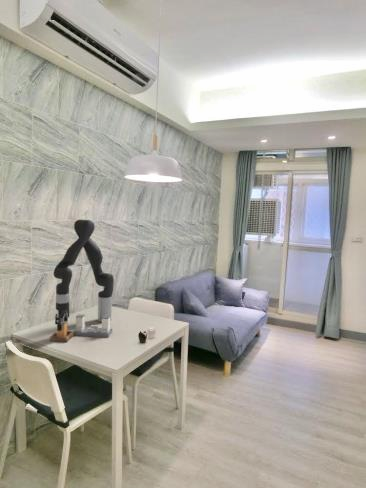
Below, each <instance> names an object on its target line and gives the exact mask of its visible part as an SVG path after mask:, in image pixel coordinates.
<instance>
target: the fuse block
mask: <svg viewBox="0 0 366 488" xmlns="http://www.w3.org/2000/svg"><path fill="white" fill-rule="evenodd" d="M85 315H86V314H80V313H79V314H77V315H76V316H75V327H74V330H73V331H74V336H79V337H80V336H84V337H98V338H109V337H110V336H111V335H112V334H113V328H111V321H110V316H103V317H102V322H101V327H99V325H96V324H95V325H94V324H91V325H90V327H89V326H87V327H86V325H87V324H86V323H85V322H86V320H85V319H86V316H85Z"/></svg>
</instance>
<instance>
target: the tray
mask: <svg viewBox="0 0 366 488" xmlns="http://www.w3.org/2000/svg"><path fill="white" fill-rule="evenodd" d="M73 337H75V335H74V330H73V331H68V330H67V336H66V337H58V330H56V331H55V332H54V333H53V334H52V335H51V336H49V341H50V342H62V343H68V342H69V341H70V340H71V339H72V338H73Z"/></svg>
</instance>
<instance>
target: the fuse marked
mask: <svg viewBox="0 0 366 488" xmlns="http://www.w3.org/2000/svg"><path fill="white" fill-rule="evenodd" d="M57 331H58V330H57ZM67 331H68V325H67V321H62V330H61V331H58V337H66V336H67Z"/></svg>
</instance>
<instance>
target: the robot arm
mask: <svg viewBox="0 0 366 488" xmlns="http://www.w3.org/2000/svg"><path fill="white" fill-rule="evenodd" d="M73 228H74V232H75V234H76V235H77V237H78V238H77V239H76V240H75V241H74V242H73V243H72V244H71V245H70V246H69V247H68V248H67V250H66V252H65V254H64V255H63V258H62V259H61V260H60V261H59V262H58V263H57V265H56V266H55V268H54V270H53V276H54V278H55V279H59V280H61V282H59V283H57V284H56V289H55V291H56V294H55V310H56V311H58V312H57V313H55V315H54V318H55V319H54V323H55V325H56V326H57V327H56V331H61V330H62V321H67V326H68V321H69V320H68V319H69V318H70V303H71V302H70V301H71V300H70V298H71V297H70V284H71V281H72V279H73V271H72V269H71V268H70V266H74V265H75V263H76V261H77V259H78V257H79V254H80V253H81V252H82V249H83V250H84V252H85V254H86V257H87V260H88V262H89V264H90V266H91V270H92V273H93V276H94V280H95V283H96V284H97V286H99V287H102V288H103V290H100V291H99V292H98V293H97V322H99V323H102V317H103V316H110V322H111V321H112V310H113V308H112V305H113V304H112V303H113V292H114V283H115V280H114V276H113V274H112V273H106V272H104V271H103V269H102V267H101V266H102V264H103V260H104V258H103V254H102V251H101V248H100V247H99V246H98V245H97V243H96V242H95V241H93V239H92V238H91V236H92V235H93V233H94V231H95V228H96V227H95V223H94V221H93V220H90V219H77V220H76V221H75V222H74V224H73Z"/></svg>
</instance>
